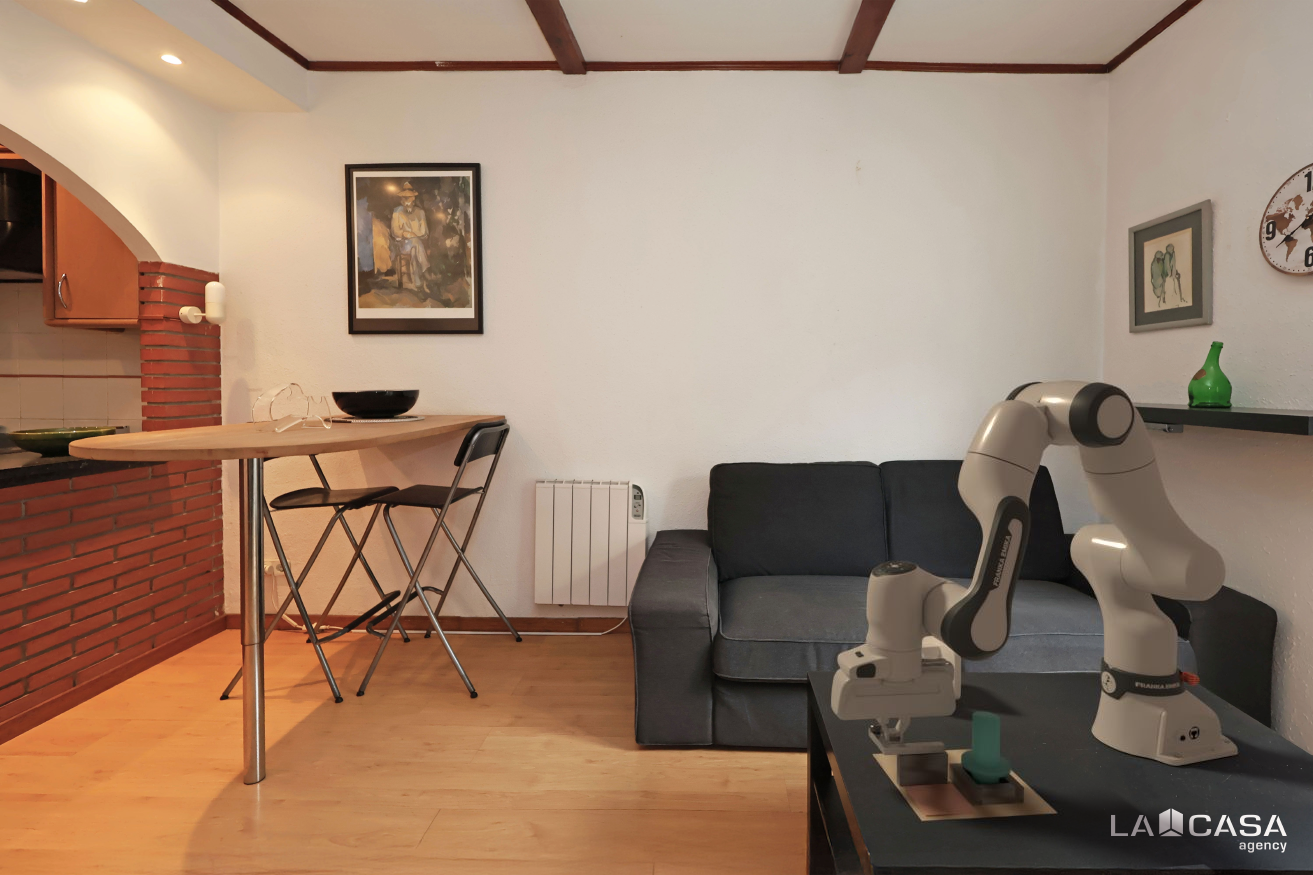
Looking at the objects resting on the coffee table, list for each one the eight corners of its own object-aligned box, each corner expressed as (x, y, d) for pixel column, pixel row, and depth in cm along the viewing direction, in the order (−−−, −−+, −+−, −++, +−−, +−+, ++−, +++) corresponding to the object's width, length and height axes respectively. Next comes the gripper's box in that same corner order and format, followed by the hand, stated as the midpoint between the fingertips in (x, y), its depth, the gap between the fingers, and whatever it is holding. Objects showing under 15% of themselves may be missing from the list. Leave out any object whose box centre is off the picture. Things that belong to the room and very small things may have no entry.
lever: (925, 732, 125) (925, 719, 125) (944, 752, 118) (944, 738, 118) (867, 734, 124) (867, 722, 124) (883, 755, 117) (883, 741, 117)
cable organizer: (964, 707, 149) (964, 651, 148) (915, 710, 148) (915, 654, 147) (926, 678, 164) (927, 627, 163) (882, 681, 162) (882, 630, 162)
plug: (994, 776, 120) (996, 705, 119) (1019, 801, 113) (1021, 726, 112) (952, 779, 120) (953, 707, 119) (974, 803, 112) (975, 728, 112)
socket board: (987, 753, 130) (988, 720, 129) (1057, 819, 110) (1058, 780, 110) (872, 759, 128) (872, 726, 128) (921, 826, 108) (922, 787, 108)
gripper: (945, 650, 125) (944, 729, 126) (828, 655, 123) (827, 734, 124) (963, 664, 119) (962, 747, 120) (840, 669, 117) (839, 752, 118)
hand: (892, 740), depth 122 cm, fingers closed
